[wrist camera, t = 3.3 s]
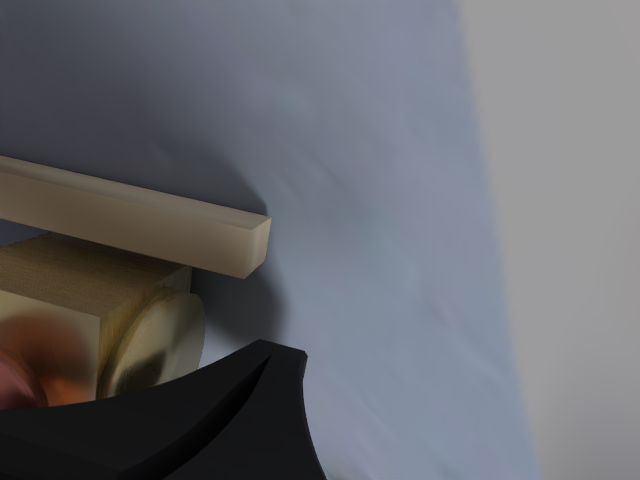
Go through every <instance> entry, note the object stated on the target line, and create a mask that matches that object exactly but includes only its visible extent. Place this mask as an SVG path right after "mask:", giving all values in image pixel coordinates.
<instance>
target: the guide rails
mask: <svg viewBox="0 0 640 480" xmlns="http://www.w3.org/2000/svg"><path fill="white" fill-rule="evenodd" d="M0 218H1V219H5V220H9V221H13V222H17V223H21V224H25V225H29V226H33V227H37V228H41V229H45V230H49V231H53V232H57V233H61V234H65V235H69V236H73V237H77V238H81V239H85V240H89V241H93V242H97V243H101V244H105V245H109V246H113V247H117V248H121V249H125V250H129V251H133V252H137V253H141V254H145V255H149V256H153V257H157V258H161V259H165V260H169V261H173V262H177V263H181V264H185V265H189V266H193V267H197V268H201V269H205V270H209V271H213V272H217V273H221V274H225V275H229V276H233V277H237V278H241V279H245V278H246V277H247V276H248V275H249V274H251V273H252V272H253V271H254V270H255V269H256V268H257V267H258V266H259V265H261V264H262V263H263V262H264V261H265V257H266V251H267V245H268V238H269V232H270V226H271V220H272V217H268V216H264V215H259V214H255V213H251V212H246V211H242V210H238V209H233V208H229V207H224V206H220V205H216V204H211V203H207V202H202V201H198V200H194V199H189V198H185V197H181V196H176V195H172V194H167V193H163V192H159V191H154V190H150V189H145V188H141V187H137V186H132V185H128V184H123V183H119V182H115V181H110V180H106V179H102V178H97V177H93V176H88V175H84V174H80V173H75V172H71V171H66V170H62V169H58V168H53V167H49V166H45V165H40V164H36V163H31V162H27V161H23V160H18V159H14V158H9V157H5V156H1V155H0Z"/></svg>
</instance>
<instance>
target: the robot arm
mask: <svg viewBox="0 0 640 480" xmlns="http://www.w3.org/2000/svg"><path fill="white" fill-rule="evenodd" d="M307 358H308V356H307V354H306V353H305V351H303V350H299V349H295V348H292V347H288V346H284V345H280V344H277V343H273V342H269V341H266V340H262V339H259V340H257V341H255V342H253V343H251V344H249V345H247V346H245V347H243V348H241V349H239V350H238V351H236V352H234V353H232V354H230V355H228V356H226V357H224V358H222V359H220V360H218V361H216V362H214V363H212V364H209V365H207V366H205V367H203V368H200V369H198V370H196V371H193V372H191V373H189V374H186V375H184V376H182V377H179V378H176V379H174V380H171V381H168V382H165V383H162V384H159V385H156V386H152V387H149V388H146V389H142V390H139V391H135V392H130V393H126V394H122V395H117V396H113V397H109V398H104V399H99V400H93V401H87V402H81V403H74V404H67V405H59V406H50V407H39V408H23V409H8V410H0V480H327V479H326V476H325V474H324V472H323V469H322V467H321V465H320V463H319V460H318V458H317V455H316V452H315V449H314V446H313V443H312V439H311V436H310V432H309V428H308V423H307V418H306V413H305V406H304V398H303V378H304V373H305V368H306V363H307Z"/></svg>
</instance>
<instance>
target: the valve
mask: <svg viewBox="0 0 640 480" xmlns="http://www.w3.org/2000/svg"><path fill="white" fill-rule="evenodd" d="M192 269H193V266H189V265H185V264H181V263H177V262H173V261H169V260H165V259H161V258H157V257H153V256H149V255H145V254H141V253H137V252H133V251H129V250H125V249H121V248H117V247H113V246H109V245H105V244H101V243H97V242H93V241H89V240H85V239H81V238H77V237H73V236H69V235H65V234H61V233H57V232H52V233H48V234H45V235H42V236H38V237H35V238H31V239H28V240H24V241H21V242H17V243H14V244H11V245H7V246H3V245H2V246H0V410H8V409H23V408H39V407H50V406H59V405H67V404H74V403H81V402H87V401H93V400H99V399H104V398H109V397H113V396H117V395H122V394H126V393H130V392H135V391H139V390H142V389H146V388H149V387H152V386H156V385H159V384H162V383H165V382H168V381H171V380H174V379H176V378H179V377H182V376H184V375H186V374H189V373H191V372H193V371H196V370H197V369H198V366H199V362H200V358H201V354H202V349H203V344H204V337H205V324H206V320H205V309H204V305H203V303H202V300H201V299H200V297H199V296H198V295H196V294H194V293H190V286H191V277H192Z"/></svg>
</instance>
